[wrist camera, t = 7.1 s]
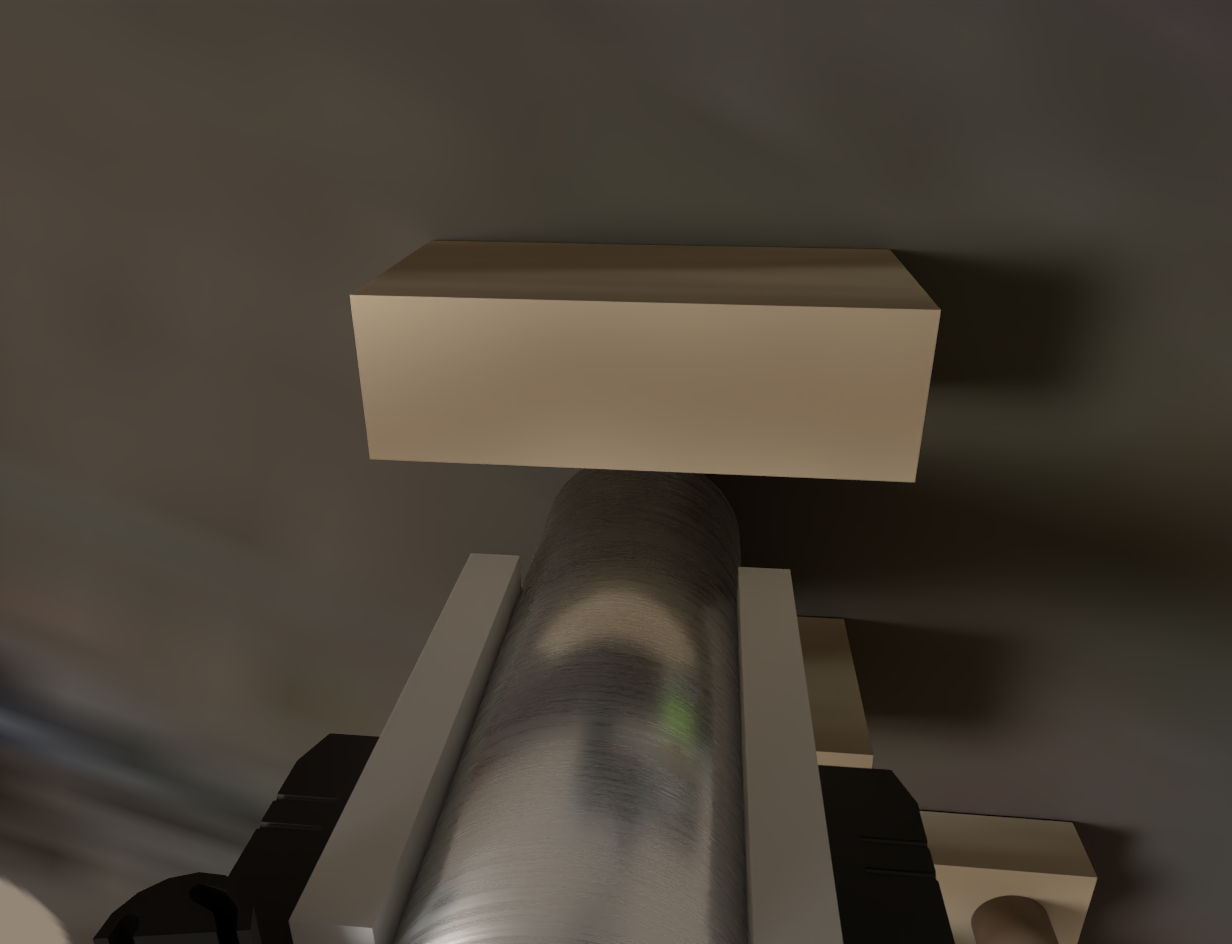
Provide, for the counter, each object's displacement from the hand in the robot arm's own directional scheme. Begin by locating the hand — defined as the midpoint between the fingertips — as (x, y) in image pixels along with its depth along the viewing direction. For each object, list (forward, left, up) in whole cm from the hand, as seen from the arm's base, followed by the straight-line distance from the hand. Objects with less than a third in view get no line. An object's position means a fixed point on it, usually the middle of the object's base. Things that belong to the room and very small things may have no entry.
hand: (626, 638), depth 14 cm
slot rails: (0, 0, -4) cm, 4 cm away
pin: (0, 0, -3) cm, 3 cm away
